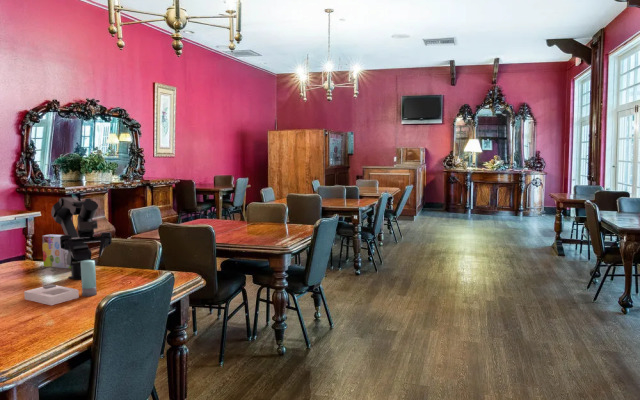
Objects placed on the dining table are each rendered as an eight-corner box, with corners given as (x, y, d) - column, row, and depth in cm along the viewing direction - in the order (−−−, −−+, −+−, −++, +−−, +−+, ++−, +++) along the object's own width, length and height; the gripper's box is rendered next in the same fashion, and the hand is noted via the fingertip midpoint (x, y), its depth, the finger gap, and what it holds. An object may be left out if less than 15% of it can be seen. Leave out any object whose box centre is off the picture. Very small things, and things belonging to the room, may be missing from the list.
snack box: (86, 267, 242) (85, 235, 241) (77, 269, 237) (76, 237, 235) (52, 264, 249) (50, 233, 248) (42, 266, 244) (40, 235, 242)
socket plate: (24, 299, 190) (24, 289, 190) (52, 291, 200) (52, 282, 199) (51, 305, 182) (50, 295, 182) (78, 297, 192) (78, 288, 192)
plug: (79, 295, 195) (77, 261, 194) (90, 292, 199) (89, 259, 198) (87, 297, 192) (86, 263, 191) (99, 293, 197) (97, 260, 196)
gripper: (58, 215, 200) (59, 247, 192) (110, 212, 208) (113, 243, 200) (60, 232, 208) (61, 264, 199) (109, 228, 216) (112, 259, 207)
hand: (87, 257), depth 201 cm, fingers open, 9 cm apart
